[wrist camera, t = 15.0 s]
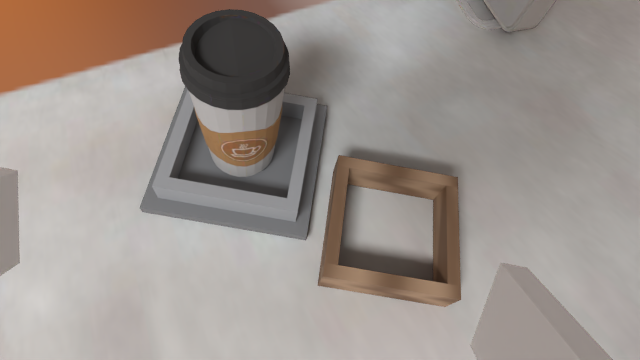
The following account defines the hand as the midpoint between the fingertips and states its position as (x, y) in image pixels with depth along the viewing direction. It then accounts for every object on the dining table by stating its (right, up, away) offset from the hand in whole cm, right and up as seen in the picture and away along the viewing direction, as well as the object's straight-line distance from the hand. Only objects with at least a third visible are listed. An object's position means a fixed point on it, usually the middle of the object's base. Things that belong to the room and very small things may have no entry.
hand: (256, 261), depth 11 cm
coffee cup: (-6, +5, +32) cm, 33 cm away
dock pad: (-6, +5, +33) cm, 34 cm away
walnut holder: (+8, -3, +31) cm, 32 cm away
